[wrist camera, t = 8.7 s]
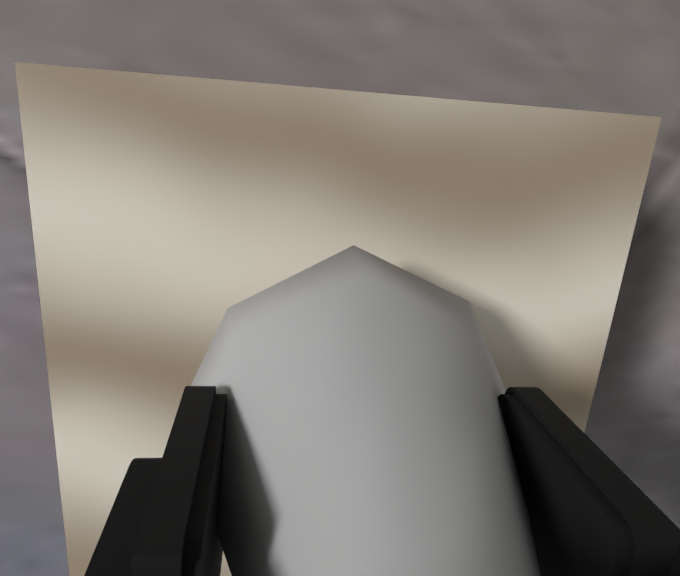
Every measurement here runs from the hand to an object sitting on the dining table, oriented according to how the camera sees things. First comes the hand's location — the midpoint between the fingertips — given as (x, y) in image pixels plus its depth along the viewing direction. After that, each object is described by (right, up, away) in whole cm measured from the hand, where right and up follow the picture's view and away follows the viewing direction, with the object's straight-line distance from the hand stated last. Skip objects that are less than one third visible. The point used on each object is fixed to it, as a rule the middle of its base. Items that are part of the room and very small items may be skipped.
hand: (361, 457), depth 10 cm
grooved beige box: (-1, +3, +10) cm, 10 cm away
